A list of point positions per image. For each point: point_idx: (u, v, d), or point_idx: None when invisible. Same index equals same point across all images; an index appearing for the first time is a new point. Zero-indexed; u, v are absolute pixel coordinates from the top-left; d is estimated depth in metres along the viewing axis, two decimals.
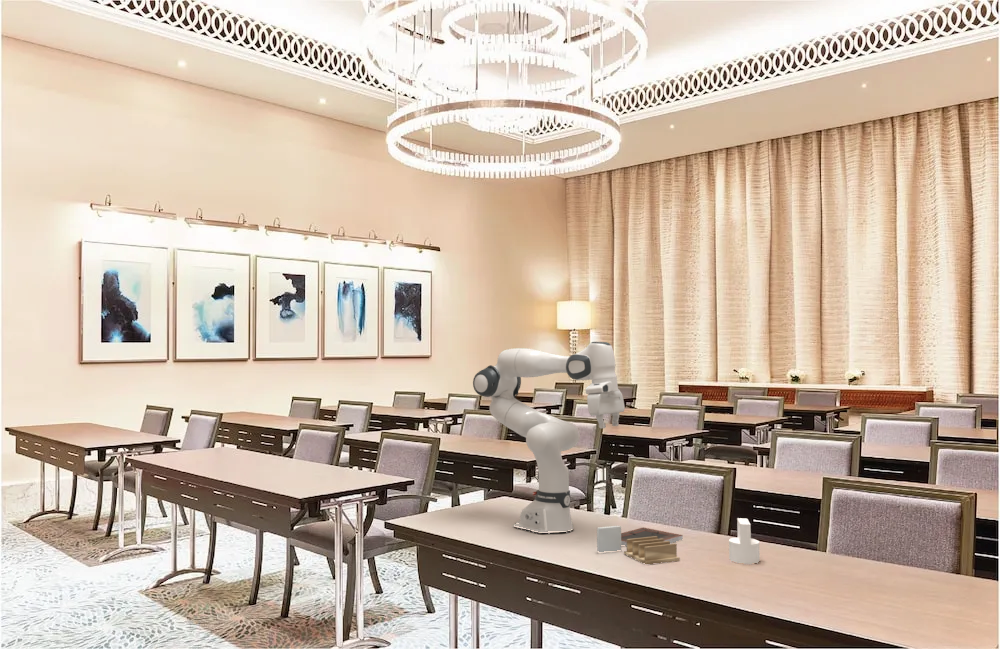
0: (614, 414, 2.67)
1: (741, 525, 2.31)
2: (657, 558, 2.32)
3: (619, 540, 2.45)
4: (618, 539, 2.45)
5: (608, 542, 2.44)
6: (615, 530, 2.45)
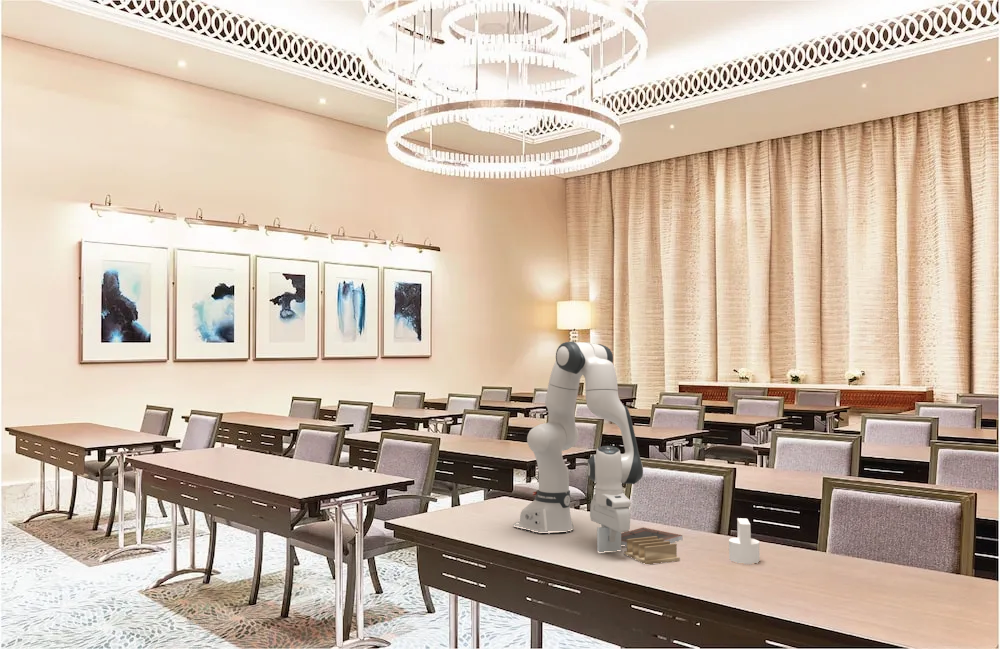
0: None
1: (741, 525, 2.31)
2: (657, 558, 2.32)
3: (619, 540, 2.45)
4: (618, 539, 2.45)
5: (608, 542, 2.44)
6: None
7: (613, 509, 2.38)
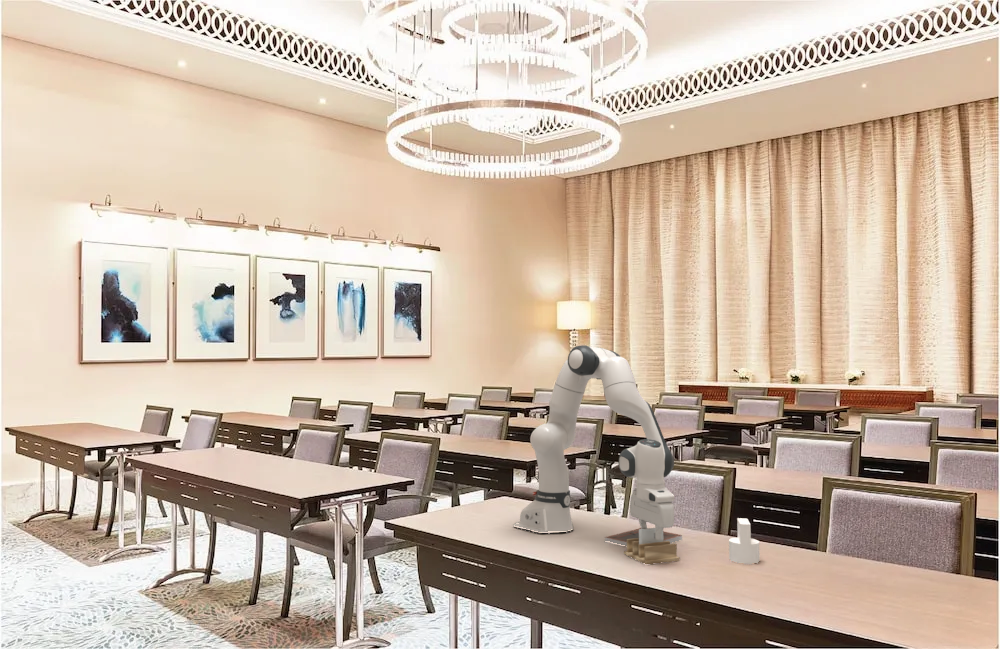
0: None
1: (741, 525, 2.31)
2: (657, 558, 2.32)
3: None
4: (660, 541, 2.38)
5: None
6: None
7: (656, 504, 2.31)
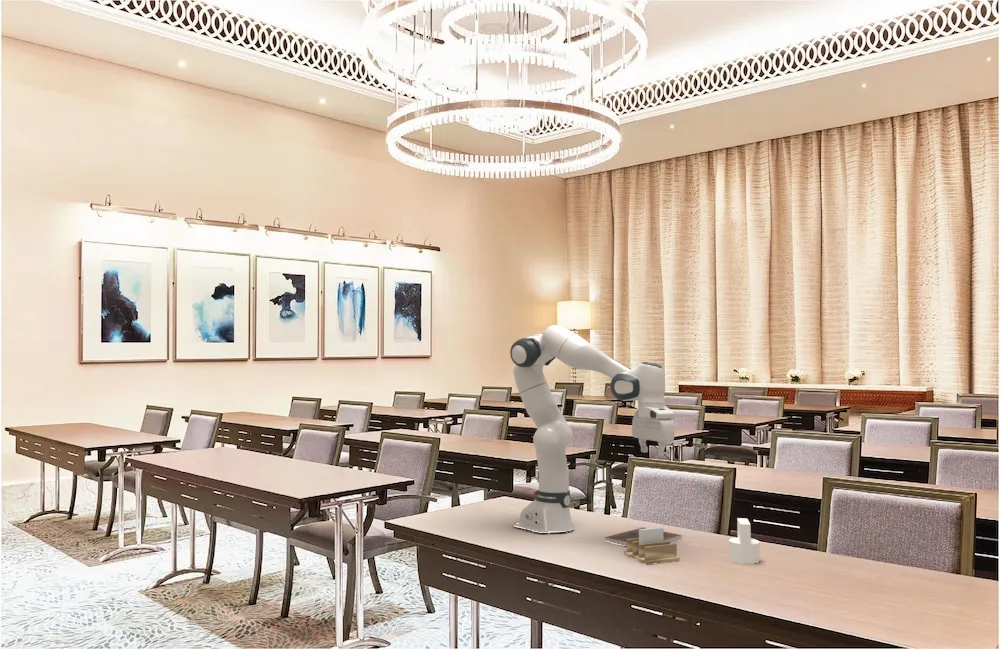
0: (643, 439, 2.53)
1: (741, 525, 2.31)
2: (657, 558, 2.32)
3: None
4: (660, 541, 2.38)
5: None
6: (657, 531, 2.38)
7: (657, 420, 2.41)
